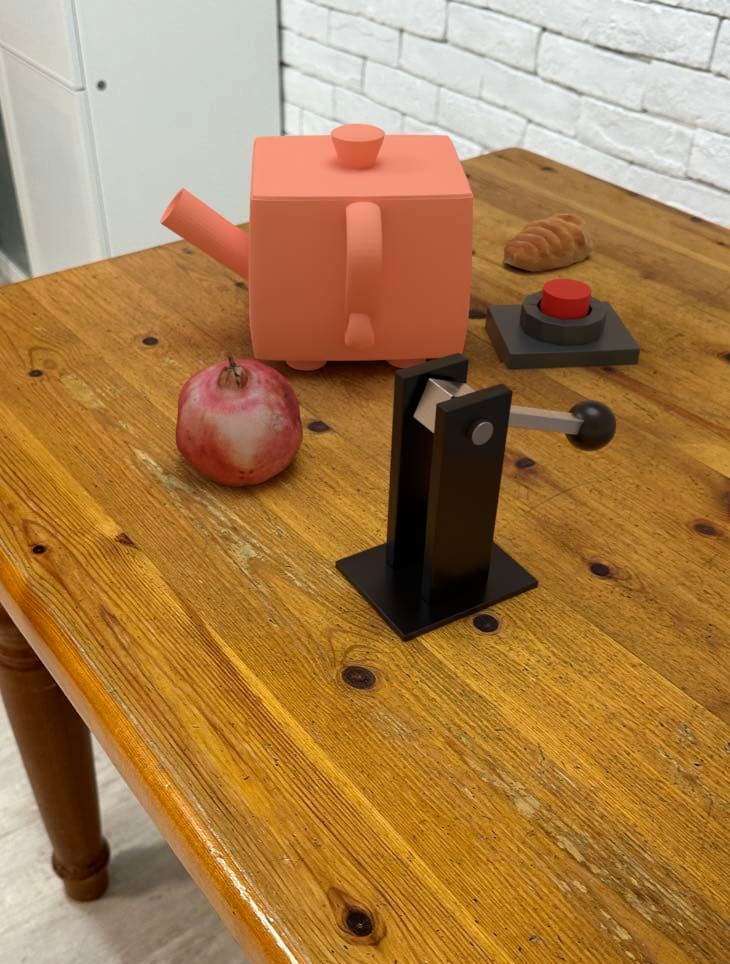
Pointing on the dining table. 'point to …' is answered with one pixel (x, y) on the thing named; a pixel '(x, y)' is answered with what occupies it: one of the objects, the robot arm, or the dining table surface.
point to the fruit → (238, 422)
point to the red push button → (565, 299)
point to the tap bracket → (441, 509)
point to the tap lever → (532, 416)
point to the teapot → (348, 247)
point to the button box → (559, 337)
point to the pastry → (549, 243)
